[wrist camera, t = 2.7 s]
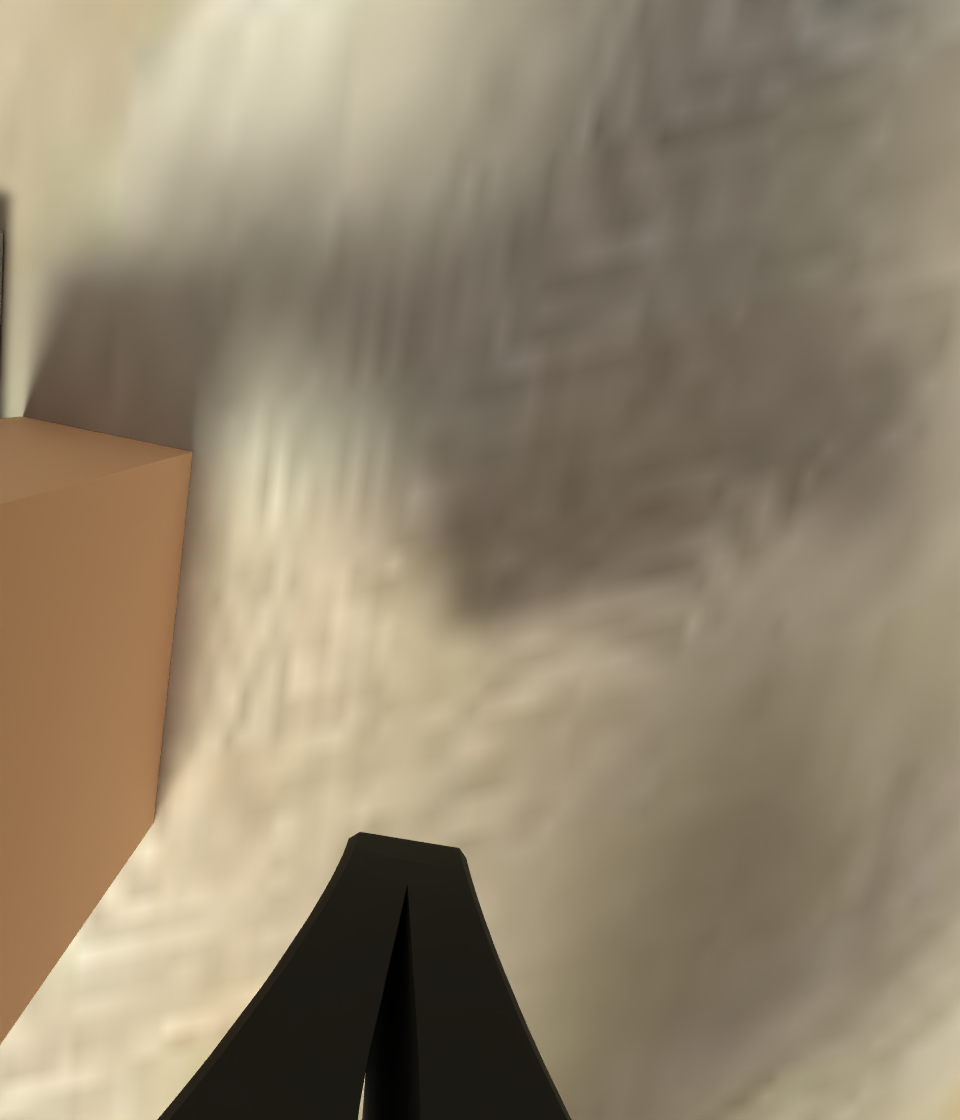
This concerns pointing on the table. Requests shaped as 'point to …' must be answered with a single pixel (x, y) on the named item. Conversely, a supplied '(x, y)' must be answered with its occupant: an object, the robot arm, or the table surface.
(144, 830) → the slab
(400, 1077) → the robot arm
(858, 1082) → the table surface
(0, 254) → the grey tray
